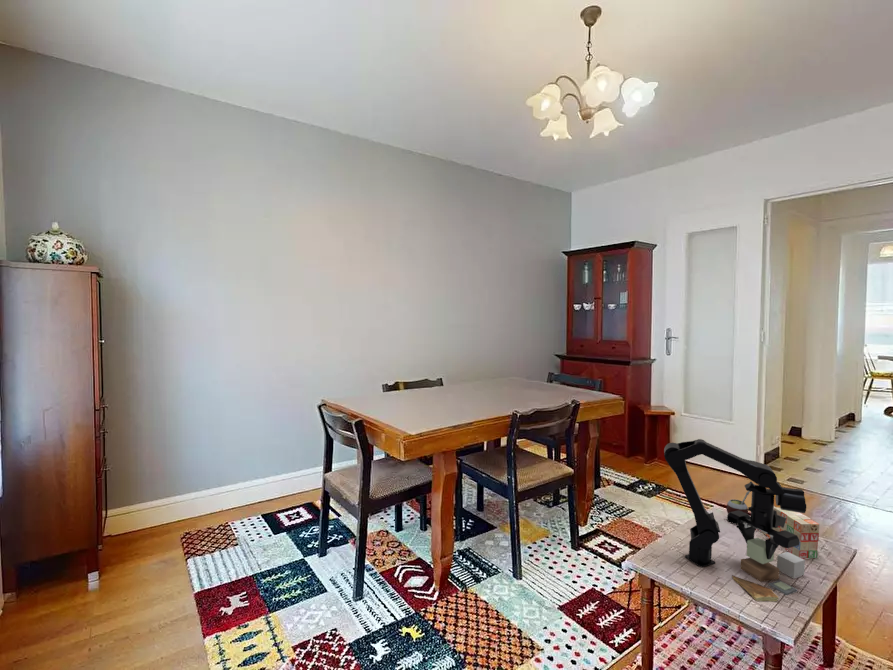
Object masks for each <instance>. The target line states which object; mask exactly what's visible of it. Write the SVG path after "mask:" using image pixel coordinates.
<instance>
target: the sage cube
mask: <svg viewBox="0 0 893 670" xmlns="http://www.w3.org/2000/svg"><path fill="white" fill-rule="evenodd" d="M746 556H747V558H752V559H754V560H756V561H758V562H759V563H761V564H765V563H768V562H769V563H771V562H774V560H775V559H774V557H775V553H774V554H773V555H772V557H771V559H767V556H766V544H765V540H764V539H762V538H760V537H754V539H751V540H747V543H746Z"/></svg>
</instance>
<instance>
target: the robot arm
mask: <svg viewBox="0 0 893 670" xmlns="http://www.w3.org/2000/svg"><path fill="white" fill-rule="evenodd" d="M663 453H664V454H663V456H664V460H665V462H666V463H667V464H668V466H669V467H670V468H671V470H672V471H673V472H674V474H675V475H676V477H677V479H678V481H679V483H680V486H681V488H682V490H683V493H684V495H685V497H686V499H687V502H688V504H689V507H690V508H691V511H692V513H693V516H694V520H695V525H694V526H692V527H690V528H689V530H690V540H689V544H688V545H689V547H688V553H687V554H685V555H684V558H686V559H687V560H689V561H690V562H692V563H693V564H696V566H699V567H700V568H703V567H707V566H711V565H714V564H716V561H715V560H713V559H712V552H713V544H715V543H717V542H718V541H719V539H720V533H721V529H720V525H719V522H718V521H717V520H716V519H715V515H714V512H710V513H709V512H708V510H706V508H705V506H704V504H703V503H704V502H703V501H702V499H701V497H700V494H699V492H698V490H697V487H696V486H695V484H694V481H693V478H692V476H691V474H690V472H689V470H688V467H687V462H686V461H687V460H690V459H692V458H695V457H697V456H701V455H703V456H705V457H708V458H709V459H712V460H714V461H716V462H717V463H720V464H722V465H724V466H726V467H729V468H731V469H732V470H735V471H737V472H738V473H739V472H740V474H742V475H743V476H745V477H746V478H747V479H749V480H750V481H749V483H746V484H744V488H745V490H746V492H748V491H751V501H750V502H751V504H750V505H751V506H749V507H748V506H747V507H748V512H750V514H749V513H748V514H746V513H744V512H742V511H740V510H738V511H733V512H729V513H727V515H726V520H727V522H728V523H729V522H731V523H730V524H733V525H736V528H737V529H738V530H739V532H740V534H741V535H742V537H743V539H744V541H745V543H746V544H747V540H751V539H754V538H755V532H756V530H758V531H759V530H760V531H759V532H761V531H762V532H764V533H767V534H769V535H770V538H767V539H765V540H764V541H765V544H766V556H767V559H771V557H772V555H773V554H774V555H775V552H776V550H777V549H778V547H779V546H780V547H782V548H783V547H784V548H783V549H785V548H791V547H794V546H798V545H799V538H798V536H797V535H795V534H793V533H790V532H788V531H786V530H783V531H780V532H778V531H775V530H773V528H778V526H781V527H782V528H784V525H785V522H786V518H785V517H782V516H780V515H778V514H777V512H776V511H775V510H774V506H775V504H776V506H778V507H779V508H781V510H787V511H793V512H799V513H801V514H806V512H807V503H806V498H805V492H804V490H803V489H802V488H791V487H783V486H782V484H780V482H779V481H778V478H777V475H776V473H775V471H773V469H772V468H771V467H770V466H769V465H767V464H765V463H761V462H758V461H755V460H750V459H745V458H742V457H740V456H738V455H735V454H734V453H732V452H729V451H727V450H724V449H722V448H720V447H718V446H717V445H716V446H715V445H713V444H712V443H709V442H707V441H706V440H704V439H702V438H698V439H695V440H690V441H682V442H679V443H677V442H669V443H667V444H666V445H665V446H664V449H663ZM762 532H761V533H762Z"/></svg>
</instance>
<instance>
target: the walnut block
mask: <svg viewBox="0 0 893 670" xmlns="http://www.w3.org/2000/svg"><path fill="white" fill-rule="evenodd" d="M739 569H740V570H741V571H743V572H744V573H746V574H747V575H749V576H751V577H752V578H754V579H755V580H757V581H758V582H760V583H762V582H768V581H776V580H780V571H779V568H777V566H775V565H774V564H772V563H771V562H768V563H765V564H761V563H759V562H758V561H756V560H754V559H752V558H750V557H746V558H741V559H740V568H739Z"/></svg>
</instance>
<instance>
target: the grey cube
mask: <svg viewBox="0 0 893 670" xmlns="http://www.w3.org/2000/svg"><path fill="white" fill-rule="evenodd" d="M776 558H777V559H776V567H777V568H779V573H780V572H781V573H782V574H784V575H786V576H788V577H789V578H791V579H797V578H800V577H803V576H805V567H806V566H805V564H806V559H802V558H800V557H798V556H795V555H793V554H792V553H790V552H789V551H786V552H783V553H779V554H777V557H776ZM802 575H803V576H802Z"/></svg>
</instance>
